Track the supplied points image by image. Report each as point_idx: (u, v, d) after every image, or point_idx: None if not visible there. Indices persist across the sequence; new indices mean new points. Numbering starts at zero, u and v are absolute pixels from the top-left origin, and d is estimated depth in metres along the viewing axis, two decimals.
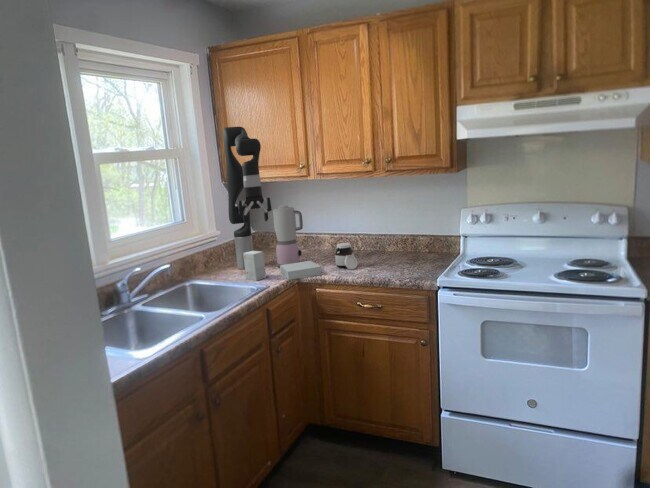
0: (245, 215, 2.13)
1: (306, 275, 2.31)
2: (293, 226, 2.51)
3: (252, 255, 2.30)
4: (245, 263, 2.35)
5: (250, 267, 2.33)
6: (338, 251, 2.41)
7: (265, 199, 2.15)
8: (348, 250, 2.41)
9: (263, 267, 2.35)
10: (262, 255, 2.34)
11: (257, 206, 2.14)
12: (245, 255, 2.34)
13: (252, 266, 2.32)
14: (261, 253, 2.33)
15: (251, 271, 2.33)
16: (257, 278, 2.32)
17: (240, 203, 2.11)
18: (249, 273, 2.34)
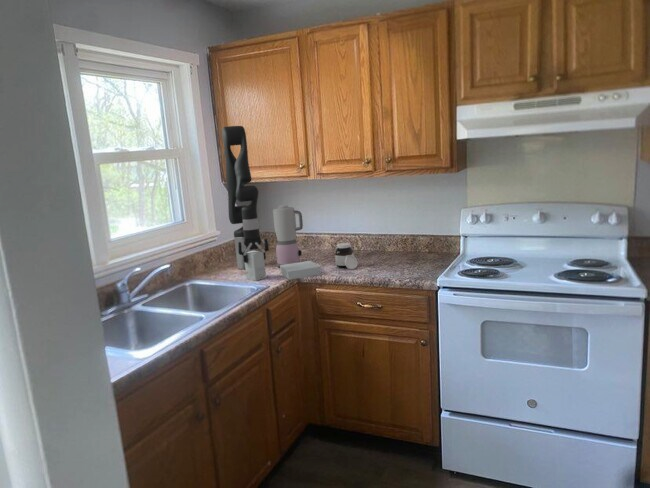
0: (244, 255, 2.32)
1: (306, 275, 2.31)
2: (293, 226, 2.51)
3: (252, 255, 2.30)
4: (246, 263, 2.35)
5: (250, 267, 2.33)
6: (338, 251, 2.41)
7: (263, 240, 2.35)
8: (348, 250, 2.41)
9: (263, 267, 2.34)
10: (262, 255, 2.34)
11: (255, 247, 2.33)
12: None
13: (251, 266, 2.32)
14: (261, 253, 2.33)
15: (251, 271, 2.33)
16: (257, 278, 2.32)
17: (240, 244, 2.30)
18: (249, 273, 2.34)
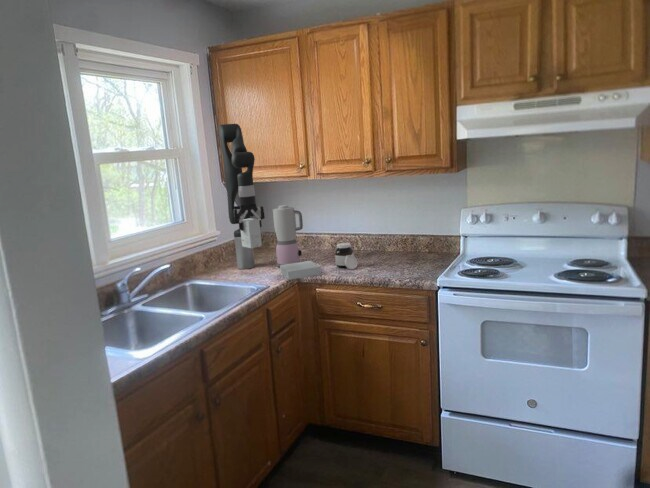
0: (240, 223, 2.30)
1: (306, 275, 2.31)
2: (293, 226, 2.51)
3: (247, 222, 2.28)
4: None
5: (246, 234, 2.30)
6: (338, 251, 2.41)
7: (259, 208, 2.32)
8: (348, 250, 2.41)
9: (259, 234, 2.32)
10: (258, 223, 2.31)
11: (251, 214, 2.30)
12: None
13: (247, 234, 2.30)
14: (257, 221, 2.30)
15: (246, 239, 2.31)
16: (252, 246, 2.30)
17: (235, 212, 2.28)
18: (245, 240, 2.32)
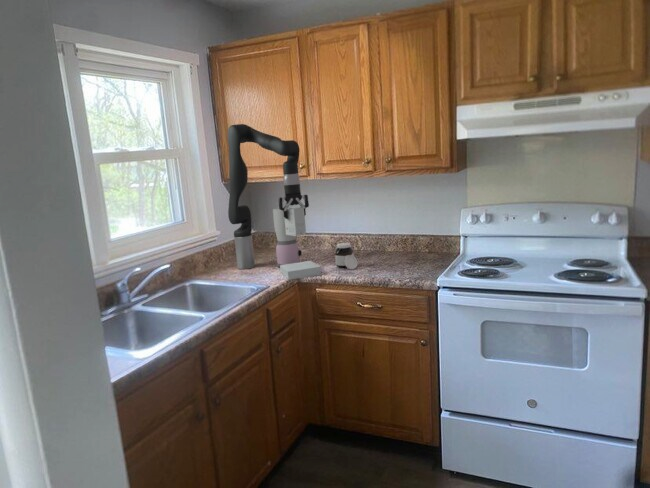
0: (285, 211, 2.31)
1: (306, 275, 2.31)
2: None
3: (292, 210, 2.29)
4: None
5: (291, 222, 2.31)
6: (338, 251, 2.41)
7: (303, 196, 2.33)
8: (348, 250, 2.41)
9: (303, 223, 2.33)
10: (302, 211, 2.32)
11: (296, 202, 2.31)
12: None
13: (292, 222, 2.31)
14: (301, 209, 2.31)
15: (291, 227, 2.32)
16: (297, 234, 2.31)
17: (281, 200, 2.29)
18: (289, 228, 2.33)
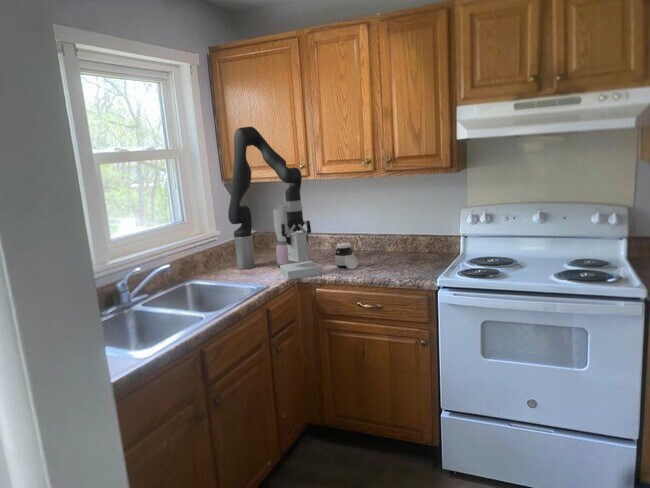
0: (288, 237, 2.33)
1: (306, 275, 2.31)
2: None
3: (295, 236, 2.31)
4: None
5: (293, 248, 2.34)
6: (338, 251, 2.41)
7: (305, 222, 2.35)
8: (348, 250, 2.41)
9: (306, 248, 2.35)
10: (305, 237, 2.34)
11: (298, 229, 2.34)
12: None
13: (294, 248, 2.33)
14: (304, 235, 2.34)
15: (293, 253, 2.34)
16: (299, 259, 2.33)
17: (283, 226, 2.31)
18: (292, 254, 2.35)
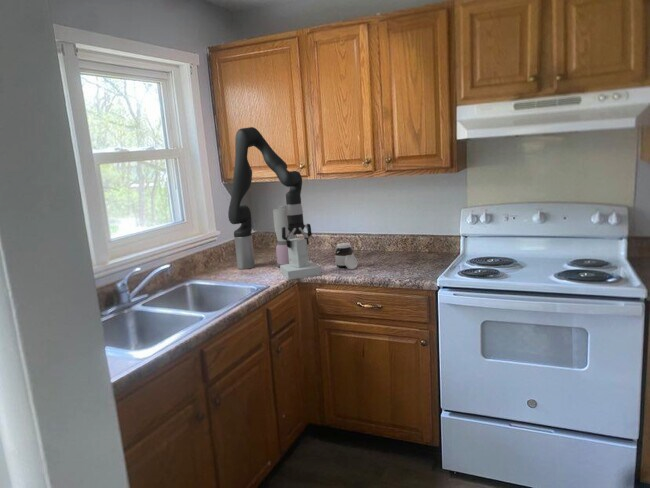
0: None
1: (306, 275, 2.31)
2: None
3: (295, 242, 2.32)
4: (289, 250, 2.37)
5: (294, 254, 2.34)
6: (338, 251, 2.41)
7: (306, 225, 2.35)
8: (348, 250, 2.41)
9: (306, 254, 2.35)
10: (305, 242, 2.35)
11: (299, 232, 2.34)
12: None
13: (295, 253, 2.34)
14: (304, 240, 2.34)
15: (294, 258, 2.35)
16: (300, 265, 2.34)
17: (284, 229, 2.31)
18: (292, 260, 2.36)
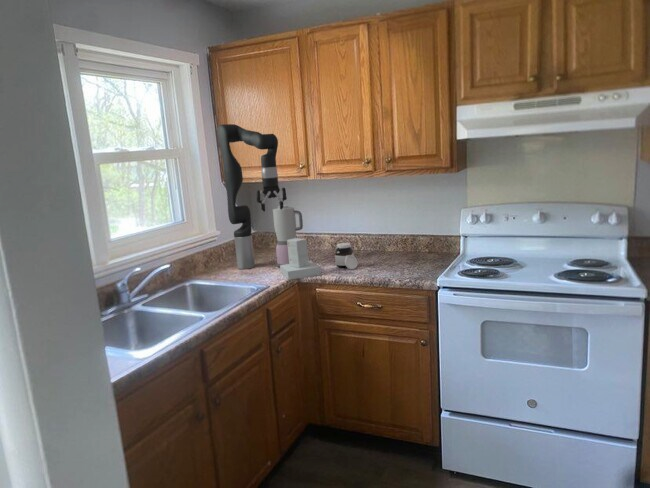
0: None
1: (306, 275, 2.31)
2: (293, 226, 2.51)
3: (295, 242, 2.32)
4: (289, 250, 2.37)
5: (294, 254, 2.34)
6: (338, 251, 2.41)
7: (281, 189, 2.36)
8: (348, 250, 2.41)
9: (306, 254, 2.35)
10: (305, 242, 2.35)
11: (274, 195, 2.35)
12: (289, 242, 2.36)
13: (295, 253, 2.34)
14: (304, 240, 2.34)
15: (294, 258, 2.35)
16: (300, 265, 2.34)
17: (258, 192, 2.32)
18: (292, 260, 2.36)
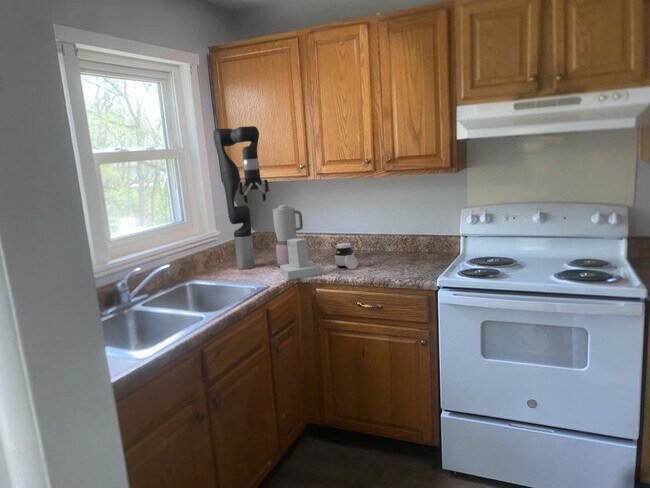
0: (245, 195, 2.37)
1: (306, 275, 2.31)
2: (293, 226, 2.51)
3: (295, 242, 2.32)
4: (289, 250, 2.37)
5: (294, 254, 2.34)
6: (338, 251, 2.41)
7: (263, 181, 2.39)
8: (348, 250, 2.41)
9: (306, 254, 2.35)
10: (305, 242, 2.35)
11: (256, 187, 2.37)
12: (289, 242, 2.36)
13: (295, 253, 2.34)
14: (304, 240, 2.34)
15: (294, 258, 2.35)
16: (300, 265, 2.34)
17: (240, 184, 2.35)
18: (292, 260, 2.36)
